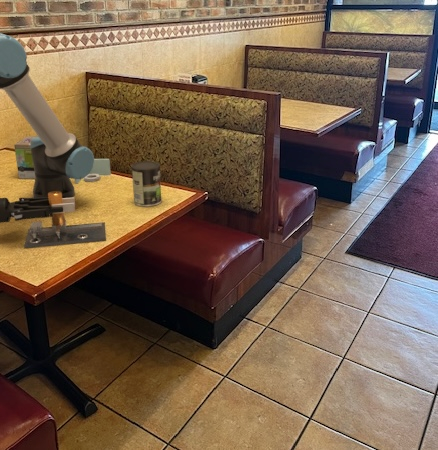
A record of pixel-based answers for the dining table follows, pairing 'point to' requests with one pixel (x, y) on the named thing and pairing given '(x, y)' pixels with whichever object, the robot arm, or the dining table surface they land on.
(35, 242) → the plate
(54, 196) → the sliding jaw
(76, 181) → the l-shaped corner panel
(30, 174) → the tea box
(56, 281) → the dining table surface
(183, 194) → the dining table surface
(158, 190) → the coffee can
